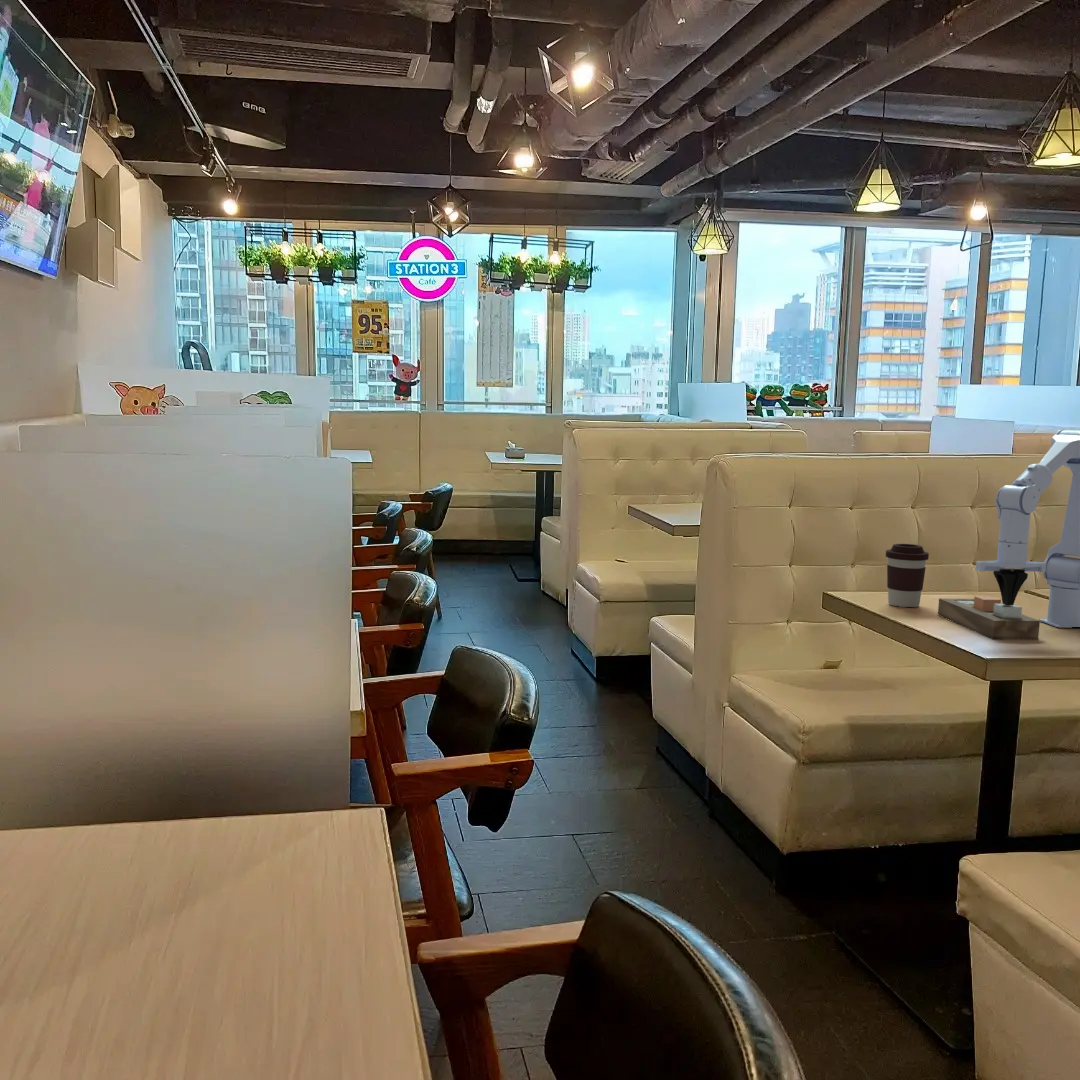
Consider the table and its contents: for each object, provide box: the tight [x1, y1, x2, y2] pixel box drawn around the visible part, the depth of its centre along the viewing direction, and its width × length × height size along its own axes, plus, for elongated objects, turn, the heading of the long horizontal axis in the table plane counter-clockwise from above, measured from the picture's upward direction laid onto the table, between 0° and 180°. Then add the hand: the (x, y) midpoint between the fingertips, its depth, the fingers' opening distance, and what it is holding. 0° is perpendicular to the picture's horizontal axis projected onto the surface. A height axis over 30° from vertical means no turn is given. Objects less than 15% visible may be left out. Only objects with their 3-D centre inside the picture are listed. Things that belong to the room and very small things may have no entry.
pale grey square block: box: [993, 603, 1023, 619], centre depth 215 cm, size 4×4×3 cm
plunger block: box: [937, 597, 1041, 640], centre depth 224 cm, size 10×25×4 cm, turn 4°
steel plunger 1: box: [957, 601, 974, 604], centre depth 232 cm, size 4×4×3 cm
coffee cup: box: [885, 543, 930, 608], centre depth 247 cm, size 10×10×15 cm
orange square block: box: [973, 595, 1002, 611], centre depth 223 cm, size 4×4×3 cm
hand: (1007, 604), depth 215 cm, fingers closed
